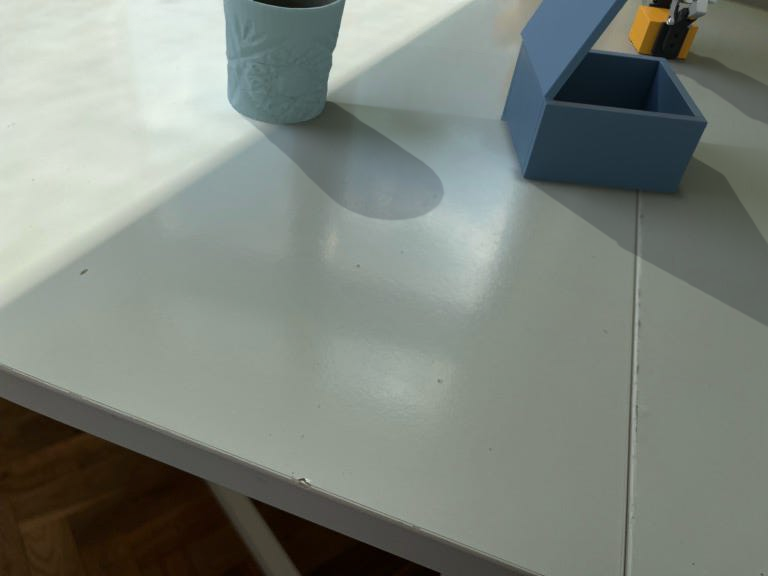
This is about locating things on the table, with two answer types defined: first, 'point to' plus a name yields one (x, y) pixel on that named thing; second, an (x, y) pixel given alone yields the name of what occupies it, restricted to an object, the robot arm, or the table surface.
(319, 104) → the embossed flower pot
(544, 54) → the lid
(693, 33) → the cheese pack
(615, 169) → the cool box
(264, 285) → the table surface
